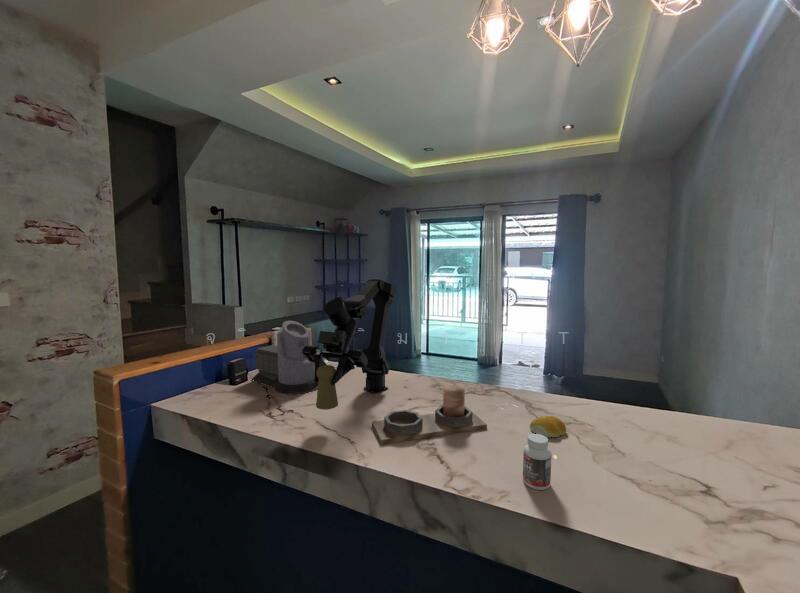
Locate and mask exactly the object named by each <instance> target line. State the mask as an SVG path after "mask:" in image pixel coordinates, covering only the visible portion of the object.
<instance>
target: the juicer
mask: <svg viewBox="0 0 800 593" xmlns="http://www.w3.org/2000/svg"><path fill="white" fill-rule="evenodd" d="M276 343H277V345H275V344H270V345H266V346H262V347H258V348H256V349H255V350H256V351H255V353H254V356H255V359H254V360H255V370H258V371H257V373H256V374H255V375H254V376H253V377H252V378H251V379H252V380H254V381H257V382H260V383H263V384H266V385H265V386H267V385H269V386H268V387H270V386H272V387H271V388H273V387H275V388H274V390H275V392H277V391H278V392H277V393H279V392H280V393H279V394H284V393H286V395H292V394H293V395H292V396H298V395H297V394H301V395H306V394H305V393H307V394H310V393H309V392H311V393H314V392H316V391H318V382H319V381H318V382H317V383H315V382H314V375H315V363H313V362H310V361H308V359H307V358H306V357H305V356H304V355H303V354H302V350H303V348H304V346H306V345H310V332H309V330H308V328H307V327H306V326H305V325H304V324H302V323H301V322H298V321H295V320H285V321H284V322H283V323H282V325H281V328H280V329H279V330H277V333H276ZM254 381H253V382H254ZM257 382H256V383H257ZM260 383H259V384H260ZM263 384H262V385H263ZM313 391H314V392H313Z"/></svg>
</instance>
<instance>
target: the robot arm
mask: <svg viewBox="0 0 800 593" xmlns="http://www.w3.org/2000/svg"><path fill="white" fill-rule="evenodd" d="M396 290H397V289H396V288H395V286H394V285H393V283H389V282H388V281H384V279H381V278H369V279H367V281H366V283H365V285H364V286H363V287H362V288H361V289H360V290H359V291H358V292H357V293H356V294H355V295H353V296H350V297H347V298H346V299H343V298H342V296H335V297H334V298H333V299H331V300H329V301H328V302H327V303H326V304H324V307H323V311H324V312H323V313H324V314H325V315H326V316H327V319H328V320H329V322H331V324H332V325H333V326H335V328H334V331H324V330H320V331H319V332H318V333H319V334H318V339H317V343H318V344H322V347H323V349H325V350H321V349H320V348H319V346H318V345H312V344H309V345H306V346H304V348H303V350H302V354H303V355H304V356H305V357H306V358H307V359H308V361H310V362H313V363H315V375H314V382H315V383H317V382H318V381H319V378H318V377H317V369H318V368H319V367H320V366H324V365H328V364H327V363H326V362H325V361H326V359H329V360H338V363H337V366H336V368H335V369H336V371H335V374H334V376H333V379H332V382H331V384H332V385H335V386H336V384H337V383H338V382H339V381H340V380H341V379H342V378H343V377H344V376H345V375H346V374H348V373H349V372H350V371H351V370H355V369H356V368H360V369H361V371H362V374H366V377H365V386H364V387H363V390H366V391H368V392H370V393H373V394H376V393H379V392H383V391H386V390H388V389H389V387H388V386H386V375H389V371H390V364H389V363H388V361H387V359H386V358H387V357H386V352H385V350H384V348H383V347H384V346H383V345H384V337H385V330H386V324H387V318H388V309H389V308H390V307H391V306H392V305H393V303H394V301H395V300H394V299H395V297H396V295H397V291H396ZM371 301H373V304H374V312H373V319H372V325H371V333H370V337H369V338H370V339H369V344H368V345H367V346H366V347H364V348H363V349H356V348H352V346H353V343H352V340H353V337H354V335H355V332H359V326H358V323H357V321H356V320H357V319H358V320H362V319H363V318H364V317H365V316H366V314H367V312H368V304H370V303H371ZM350 347H351V348H350ZM349 348H350V349H349Z"/></svg>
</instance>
